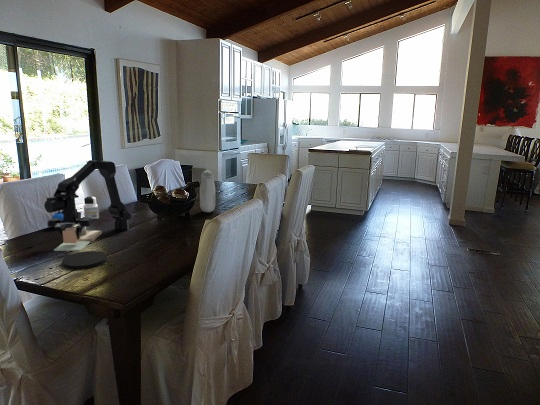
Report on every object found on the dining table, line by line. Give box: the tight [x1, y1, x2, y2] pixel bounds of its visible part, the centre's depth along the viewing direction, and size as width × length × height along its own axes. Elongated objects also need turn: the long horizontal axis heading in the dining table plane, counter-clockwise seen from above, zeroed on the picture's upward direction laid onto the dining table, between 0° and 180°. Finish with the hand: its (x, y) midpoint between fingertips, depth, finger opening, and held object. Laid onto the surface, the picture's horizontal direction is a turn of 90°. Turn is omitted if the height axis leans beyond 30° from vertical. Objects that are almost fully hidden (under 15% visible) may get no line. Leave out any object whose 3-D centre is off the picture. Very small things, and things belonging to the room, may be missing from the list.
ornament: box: [51, 210, 63, 220], centre depth 216 cm, size 9×9×10 cm
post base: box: [79, 227, 103, 243], centre depth 200 cm, size 14×14×7 cm
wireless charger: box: [61, 250, 108, 271], centre depth 169 cm, size 18×18×2 cm
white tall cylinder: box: [199, 169, 216, 213], centre depth 255 cm, size 10×10×28 cm
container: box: [83, 196, 100, 220], centre depth 236 cm, size 8×8×13 cm
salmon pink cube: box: [62, 227, 80, 243], centre depth 186 cm, size 6×6×6 cm
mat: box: [53, 241, 91, 252], centre depth 187 cm, size 12×12×1 cm
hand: (72, 239), depth 186 cm, fingers closed on salmon pink cube, 6 cm apart
